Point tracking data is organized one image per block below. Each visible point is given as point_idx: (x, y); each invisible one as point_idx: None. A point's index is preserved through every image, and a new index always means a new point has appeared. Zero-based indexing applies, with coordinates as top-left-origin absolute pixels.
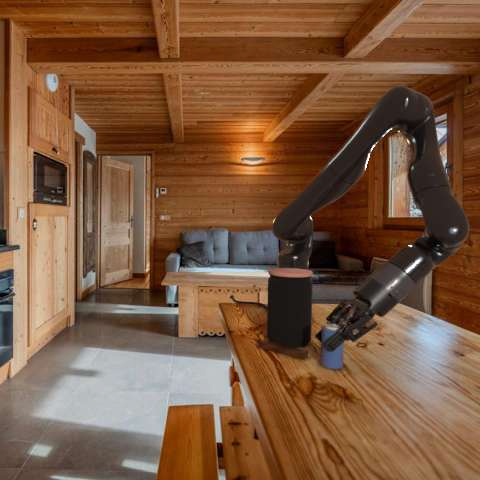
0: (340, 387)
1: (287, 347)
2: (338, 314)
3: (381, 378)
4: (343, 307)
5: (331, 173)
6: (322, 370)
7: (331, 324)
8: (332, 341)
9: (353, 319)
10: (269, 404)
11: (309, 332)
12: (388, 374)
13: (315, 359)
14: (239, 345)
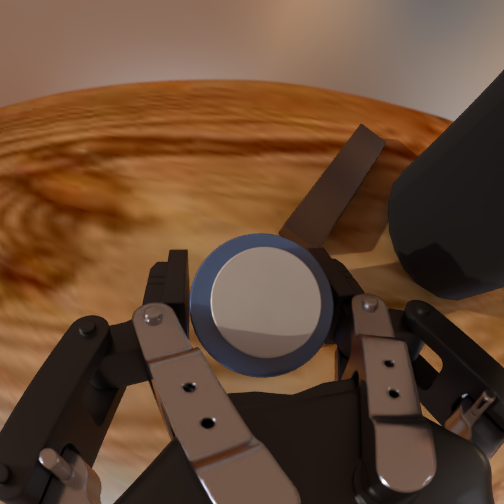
0: (54, 282)
1: (330, 185)
2: (365, 358)
3: (135, 447)
4: (478, 413)
5: None
6: None
7: (299, 301)
8: (155, 278)
9: (175, 439)
10: (16, 114)
11: (445, 279)
12: None
13: None
14: (354, 98)
